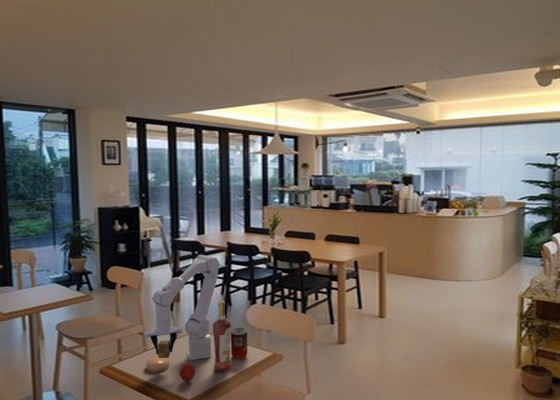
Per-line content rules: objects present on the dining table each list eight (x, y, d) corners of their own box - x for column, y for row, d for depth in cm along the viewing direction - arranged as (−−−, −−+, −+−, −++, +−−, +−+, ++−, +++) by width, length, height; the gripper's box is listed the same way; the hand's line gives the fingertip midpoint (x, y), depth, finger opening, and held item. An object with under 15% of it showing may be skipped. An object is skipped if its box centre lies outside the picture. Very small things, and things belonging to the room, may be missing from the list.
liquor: (223, 375, 162) (222, 306, 160) (209, 370, 165) (208, 303, 164) (235, 367, 168) (234, 300, 166) (221, 363, 172) (220, 298, 170)
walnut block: (170, 353, 168) (169, 340, 168) (168, 357, 164) (168, 344, 164) (160, 353, 168) (160, 340, 167) (158, 358, 164) (158, 344, 163)
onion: (181, 378, 159) (180, 358, 159) (195, 377, 160) (195, 358, 159) (178, 386, 153) (178, 365, 153) (194, 385, 154) (193, 365, 153)
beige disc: (168, 360, 175) (168, 354, 174) (169, 370, 166) (169, 364, 166) (146, 363, 172) (146, 358, 171) (146, 373, 163) (146, 367, 163)
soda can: (248, 360, 174) (248, 332, 174) (232, 361, 173) (231, 333, 172) (246, 353, 181) (245, 326, 181) (230, 354, 180) (229, 327, 179)
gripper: (180, 314, 171) (181, 345, 172) (144, 318, 166) (145, 351, 167) (182, 319, 164) (183, 352, 165) (144, 324, 160) (145, 358, 160)
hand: (164, 352), depth 166 cm, fingers closed on walnut block, 5 cm apart
